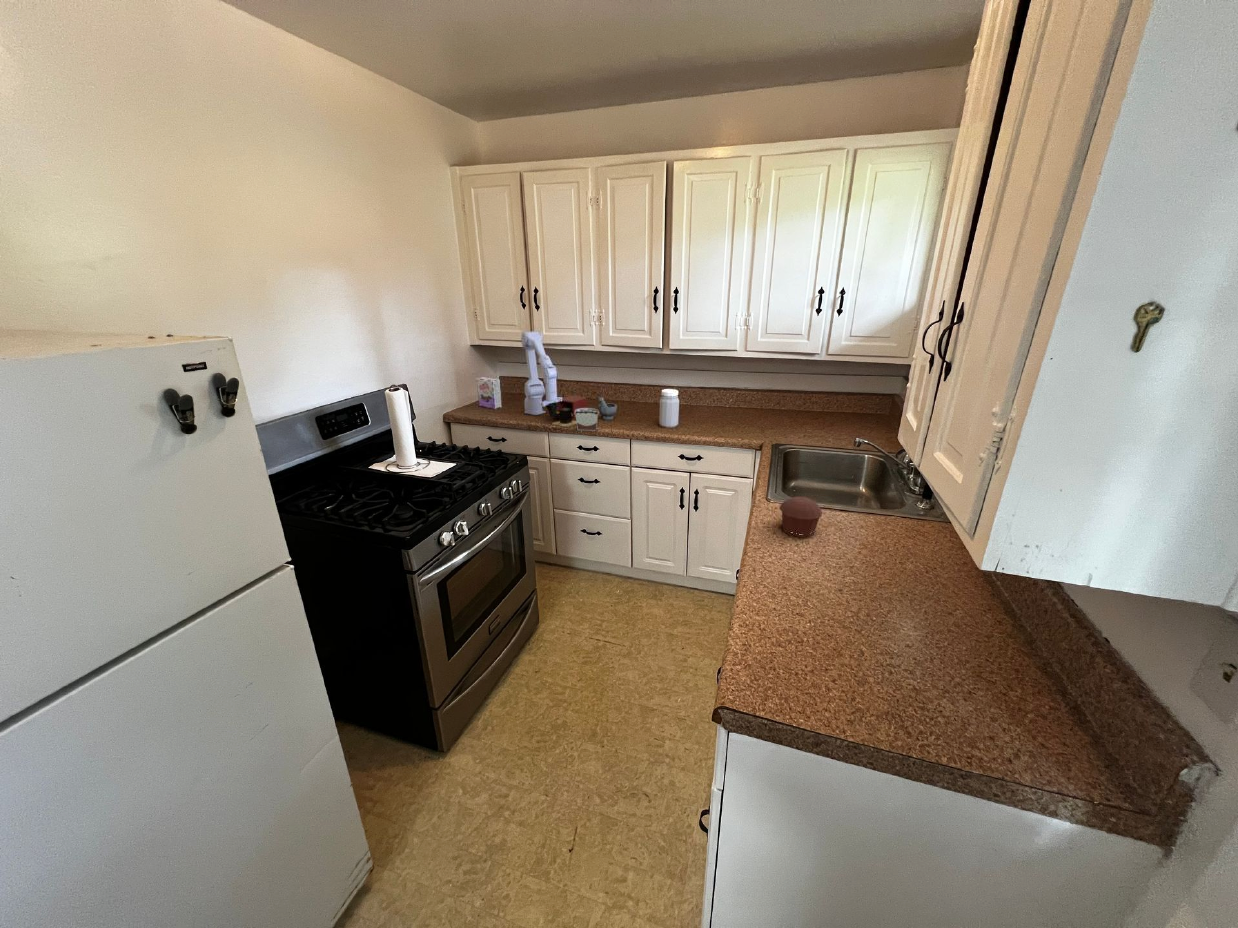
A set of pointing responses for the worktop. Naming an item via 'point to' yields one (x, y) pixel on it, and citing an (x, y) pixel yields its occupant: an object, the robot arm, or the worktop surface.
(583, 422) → the food container
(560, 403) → the dark red block
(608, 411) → the mortar and pestle
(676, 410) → the jar
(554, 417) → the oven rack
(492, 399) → the candy box
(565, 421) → the black weight
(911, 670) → the worktop surface
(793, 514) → the muffin
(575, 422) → the trivet
